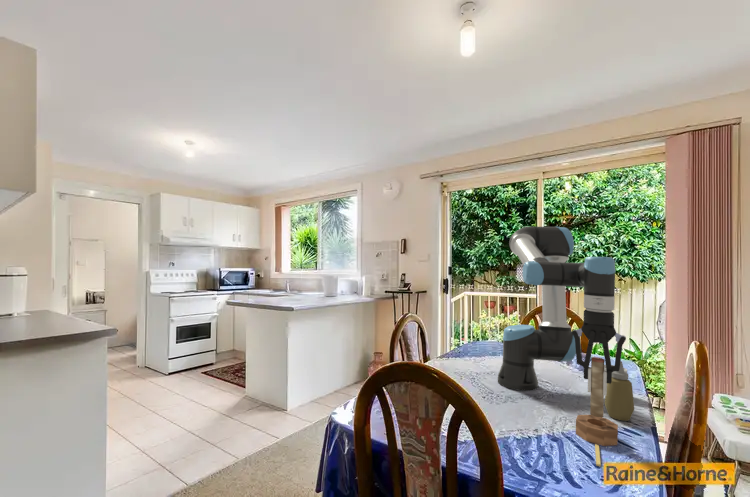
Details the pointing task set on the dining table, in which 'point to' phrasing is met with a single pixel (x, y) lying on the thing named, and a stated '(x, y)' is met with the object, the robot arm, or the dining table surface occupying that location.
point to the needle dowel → (597, 387)
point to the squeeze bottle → (619, 396)
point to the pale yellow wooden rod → (597, 455)
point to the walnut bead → (597, 430)
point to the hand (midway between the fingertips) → (597, 392)
